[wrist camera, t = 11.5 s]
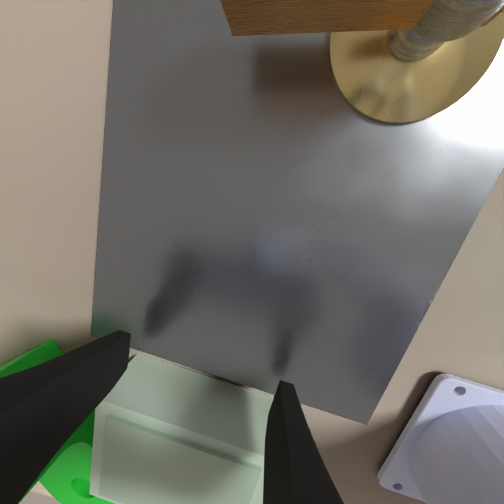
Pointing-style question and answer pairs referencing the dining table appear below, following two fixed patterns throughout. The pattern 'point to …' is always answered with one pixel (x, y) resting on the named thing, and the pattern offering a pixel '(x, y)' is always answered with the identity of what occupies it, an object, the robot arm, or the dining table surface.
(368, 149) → the latch plate
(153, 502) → the cover
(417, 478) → the robot arm
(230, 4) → the t key
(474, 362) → the dining table surface
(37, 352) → the mechanical part
